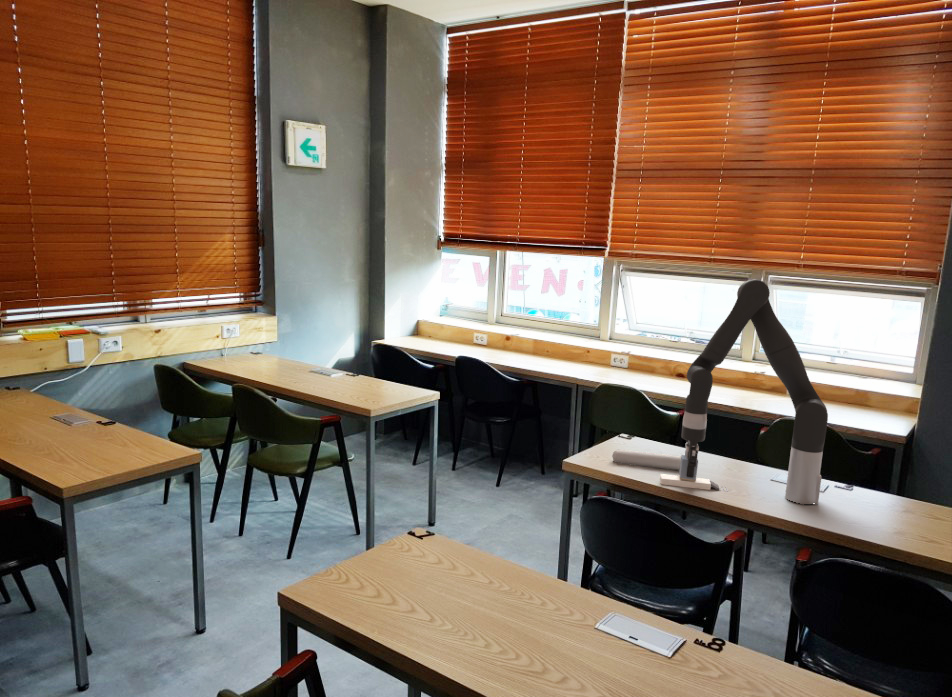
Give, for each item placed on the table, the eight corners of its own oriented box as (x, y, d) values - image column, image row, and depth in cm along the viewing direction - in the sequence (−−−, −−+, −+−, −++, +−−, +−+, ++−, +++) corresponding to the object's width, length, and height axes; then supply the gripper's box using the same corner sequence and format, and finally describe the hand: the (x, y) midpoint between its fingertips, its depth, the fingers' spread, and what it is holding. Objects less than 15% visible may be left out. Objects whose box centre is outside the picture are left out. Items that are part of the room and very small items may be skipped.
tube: (611, 454, 258) (683, 461, 252) (613, 445, 263) (683, 453, 256) (611, 466, 260) (682, 474, 254) (612, 457, 265) (682, 465, 259)
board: (708, 484, 241) (709, 479, 240) (710, 489, 236) (710, 484, 236) (659, 479, 244) (660, 473, 244) (660, 484, 239) (661, 478, 239)
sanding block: (694, 476, 241) (696, 456, 240) (695, 481, 237) (698, 461, 235) (678, 474, 242) (681, 454, 241) (680, 479, 238) (682, 459, 236)
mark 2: (717, 486, 240) (717, 488, 240) (718, 490, 236) (718, 491, 236) (726, 487, 239) (726, 489, 239) (728, 491, 235) (728, 493, 235)
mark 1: (717, 486, 240) (718, 485, 240) (718, 490, 236) (719, 488, 236) (709, 481, 240) (710, 480, 240) (710, 485, 236) (711, 484, 236)
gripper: (708, 432, 229) (702, 482, 232) (703, 421, 243) (698, 469, 245) (684, 429, 230) (679, 480, 233) (680, 419, 244) (676, 466, 247)
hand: (689, 474), depth 239 cm, fingers closed on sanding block, 5 cm apart
